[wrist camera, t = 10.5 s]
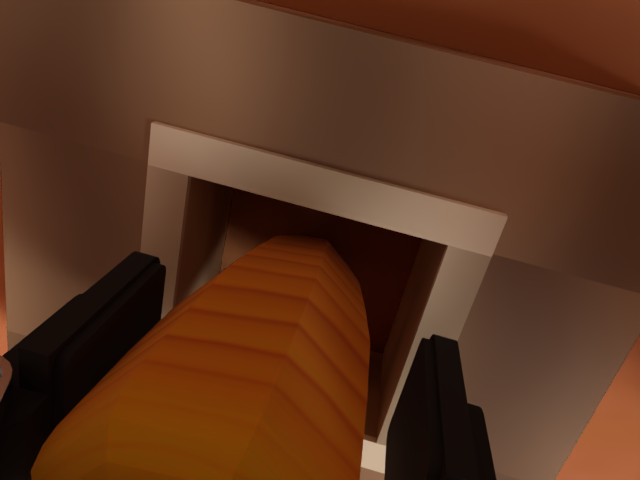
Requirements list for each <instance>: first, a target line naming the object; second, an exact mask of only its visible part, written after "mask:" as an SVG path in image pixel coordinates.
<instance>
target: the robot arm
mask: <svg viewBox="0 0 640 480" xmlns="http://www.w3.org/2000/svg"><path fill="white" fill-rule="evenodd" d="M165 277H166V266H165V265H162V264H160V259H159V258H158V257H156V256H152V255H149V254H145V253H141V252H138V251H134V252H132V253H131V254H130V255H129V256H127V257H126V258H125V259H124V260H123V261H121V262H120V263H119V264H118V265H117V266H115V267H114V268H113V269H112V270H111V271H109V272H108V273H107V274H106V275H105V276H103V277H102V278H101V279H100V280H99V281H97V282H96V283H95V284H94V285H93V286H91V287H90V288H89V289H88V290H87V291H85V292H84V293H83V294H78V295H77V296H75V297H74V298H72V299H71V300H70V301H69V302H67V303H66V304H65V305H64V306H63V307H61V308H60V309H59V310H58V311H56V312H55V313H54V314H53V315H52V316H50V317H49V318H48V319H47V320H46V321H44V322H43V323H42V324H41V325H39V326H38V327H37V328H36V329H35V330H33V331H32V332H31V333H30V334H28V335H27V336H26V337H25V338H24V339H22V340H21V341H20V342H19V343H17V344H16V345H15V346H14V347H13V348H11V349H10V350H9V351H8V352H7V353H5V354H4V355H3V356H0V480H32V478H31V469H32V467H33V465H34V463H35V460H36V458H37V456H38V454H39V452H40V449H41V447H42V445H43V444H44V443H45V441H46V440H47V439H48V437H49V436H50V435H51V433H52V432H53V430H54V429H55V428H56V426H57V425H58V424H59V423H60V422H61V421H62V420H63V419H64V418H65V417H66V416H67V415H68V414H69V413H70V411H71V410H72V409H73V408H74V407H75V406H76V405H77V404H78V403H79V402H80V401H81V400H82V399H83V398H84V397H85V396H86V395H87V394H88V393H89V392H90V391H91V390H92V389H93V387H94V386H95V385H96V384H97V383H98V382H99V381H100V380H101V379H102V378H103V377H104V376H105V375H106V374H107V373H108V372H109V371H110V370H111V369H112V368H113V367H114V366H115V365H116V363H117V362H118V361H119V360H120V359H121V358H122V357H123V356H124V355H125V354H126V353H127V352H128V351H129V350H130V349H131V348H132V347H133V346H134V345H135V344H136V343H138V342H139V341H140V340H141V339H142V338H143V337H144V336H145V335H146V334H147V333H148V332H149V331H150V330H151V329H152V328H153V327H154V326H155V325H156V324H157V323H158V322H159V321H160V320H161V314H162V304H163V295H164V286H165ZM384 480H497V479H496V474H495V469H494V464H493V459H492V453H491V448H490V443H489V438H488V433H487V428H486V422H485V417H484V413H483V410H482V408H481V407H480V406H476V405H473V404H469V403H467V397H466V390H465V384H464V378H463V371H462V365H461V358H460V352H459V346H458V341H456V340H453V339H450V338H446V337H443V336H439V335H435V334H433V335H432V336H431V337H430V339H426V338H422V339H421V341H420V343H419V346H418V349H417V352H416V354H415V357H414V360H413V362H412V365H411V368H410V370H409V373H408V376H407V379H406V381H405V384H404V387H403V389H402V392H401V395H400V397H399V400H398V403H397V405H396V408H395V411H394V414H393V416H392V419H391V422H390V425H389V428H388V432H387V439H386V457H385V476H384Z"/></svg>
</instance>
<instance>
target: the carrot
mask: <svg viewBox="0 0 640 480" xmlns="http://www.w3.org/2000/svg"><path fill="white" fill-rule="evenodd" d="M369 357H370V337H369V330H368V323H367V316H366V309H365V305H364V301H363V296H362V292H361V288H360V284H359V281H358V280H357V278H356V277H355V275H354V274H353V272H352V271H351V269H350V268H349V266H348V265H347V263H346V262H345V261H344V260H343V259H342V257H341V256H340V255H339V254H338V252H337V251H336V250H335V249H334V248H333V246H332V245H331V244H330V243H329V242H328V240H327V239H322V238H315V237H309V236H303V235H296V234H288V235H278V236H275V237H273V238H271V239H269V240H267V241H266V242H264V243H262V244H260V245H259V246H257V247H255V248H254V249H252V250H251V251H249V252H248V253H247V254H245V255H244V256H242V257H241V258H240V259H238V260H237V261H235V262H234V263H232V264H231V265H230V266H228V267H227V268H226V269H224V270H223V271H222V272H220V273H219V274H218V275H216V276H215V277H214V278H212V279H211V280H210V281H208V282H207V283H206V284H204V285H203V286H202V287H200V288H199V289H198V290H196V291H195V292H194V293H192V294H191V295H190V296H188V297H187V298H186V299H184V300H183V301H182V302H180V303H179V304H178V305H176V306H175V307H174V308H173V309H172V310H171V311H170V312H168V313H167V314H166V315H165V316H164V317H163V318H162V319H161V320H160V321H159V322H158V323H157V324H156V325H155V326H154V327H153V328H152V329H151V330H150V331H149V332H148V333H147V334H146V335H145V336H144V337H143V338H142V339H141V340H140V341H139V342H138V343H136V344H135V345H134V346H133V347H132V348H131V349H130V350H129V351H128V352H127V353H126V354H125V355H124V356H123V357H122V358H121V359H120V360H119V361H118V362H117V363H116V365H115V366H114V367H113V368H112V369H111V370H110V371H109V372H108V373H107V374H106V375H105V376H104V377H103V378H102V379H101V380H100V381H99V382H98V383H97V384H96V385H95V386H94V387H93V389H92V390H91V391H90V392H89V393H88V394H87V395H86V396H85V397H84V398H83V399H82V400H81V401H80V402H79V403H78V404H77V405H76V406H75V407H74V408H73V409H72V410H71V411H70V413H69V414H68V415H67V416H66V417H65V418H64V419H63V420H62V421H61V422H60V423H59V424H58V425H57V426H56V428H55V429H54V430H53V432H52V433H51V435H50V436H49V437H48V439H47V440H46V441H45V443H44V444H43V445H42V447H41V449H40V452H39V454H38V456H37V458H36V460H35V463H34V465H33V467H32V469H31V478H32V480H360V471H361V460H362V450H363V440H364V429H365V419H366V408H367V395H368V376H369Z"/></svg>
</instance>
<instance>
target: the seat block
mask: <svg viewBox="0 0 640 480" xmlns="http://www.w3.org/2000/svg"><path fill="white" fill-rule="evenodd" d="M0 165H1V190H2V215H3V240H4V265H5V290H6V315H7V340H8V351H9V350H10V349H11V348H13V347H14V346H15V345H16V344H17V343H19V342H20V341H21V340H22V339H24V338H25V337H26V336H27V335H28V334H30V333H31V332H32V331H33V330H35V329H36V328H37V327H38V326H39V325H41V324H42V323H43V322H44V321H46V320H47V319H48V318H49V317H50V316H52V315H53V314H54V313H55V312H56V311H58V310H59V309H60V308H61V307H63V306H64V305H65V304H66V303H67V302H69V301H70V300H71V299H72V298H74V297H75V296H77V295H78V294H83V293H84V292H85V291H87V290H88V289H89V288H90V287H91V286H93V285H94V284H95V283H96V282H97V281H99V280H100V279H101V278H102V277H103V276H105V275H106V274H107V273H108V272H109V271H111V270H112V269H113V268H114V267H115V266H117V265H118V264H119V263H120V262H121V261H123V260H124V259H125V258H126V257H127V256H129V255H130V254H131V253H132V252H134V251H138V252H141V253H145V254H149V255H152V256H156V257H158V258H159V259H160V264H162V265H165V266H166V277H165V286H164V295H163V304H162V314H161V319H162V318H163V317H164V316H165V315H166V314H167V313H168V312H170V311H171V310H172V309H173V308H174V307H175V306H176V305H178V304H179V303H180V302H182V301H183V300H184V299H186V298H187V297H188V296H190V295H191V294H192V293H194V292H195V291H196V290H198V289H199V288H200V287H202V286H203V285H204V284H206V283H207V282H208V281H210V280H211V279H212V278H214V277H215V276H216V275H218V274H219V273H220V268H221V262H222V256H223V250H224V243H225V237H226V231H227V225H228V219H229V212H230V206H231V200H232V194H233V188H236V189H240V190H244V191H248V192H251V193H255V194H259V195H263V196H266V197H270V198H274V199H277V200H281V201H285V202H289V203H292V204H296V205H300V206H303V207H307V208H311V209H315V210H318V211H322V212H326V213H330V214H333V215H337V216H341V217H344V218H348V219H352V220H356V221H359V222H363V223H367V224H371V225H374V226H378V227H382V228H385V229H389V230H393V231H397V232H400V233H404V234H408V235H411V236H415V237H419V238H422V240H421V243H420V246H419V249H418V252H417V255H416V258H415V261H414V264H413V267H412V270H411V272H410V275H409V278H408V281H407V284H406V287H405V290H404V293H403V296H402V299H401V302H400V305H399V308H398V311H397V314H396V317H395V320H394V323H393V326H392V329H391V332H390V335H389V338H388V341H387V344H386V346H385V349H384V352H383V354H381V353H378V352H374V351H371V350H370V357H369V376H368V395H367V408H366V419H365V429H364V440H363V450H362V460H361V471H360V480H384V476H385V457H386V439H387V432H388V428H389V425H390V422H391V419H392V416H393V414H394V411H395V408H396V405H397V403H398V400H399V397H400V395H401V392H402V389H403V387H404V384H405V381H406V379H407V376H408V373H409V370H410V368H411V365H412V362H413V360H414V357H415V354H416V352H417V349H418V346H419V343H420V341H421V339H422V338H426V339H430V337H431V336H432V335H433V334H435V335H439V336H443V337H446V338H450V339H453V340H456V341H458V346H459V352H460V358H461V365H462V371H463V378H464V384H465V390H466V397H467V403H469V404H473V405H476V406H480V407H481V408H482V410H483V413H484V417H485V422H486V428H487V433H488V438H489V443H490V448H491V453H492V459H493V464H494V469H495V474H496V479H497V480H555V479H556V477H557V475H558V473H559V472H560V470H561V468H562V467H563V465H564V463H565V461H566V460H567V458H568V456H569V455H570V453H571V451H572V449H573V448H574V446H575V444H576V443H577V441H578V439H579V438H580V436H581V434H582V432H583V431H584V429H585V427H586V426H587V424H588V422H589V420H590V419H591V417H592V415H593V414H594V412H595V410H596V408H597V407H598V405H599V403H600V402H601V400H602V398H603V396H604V395H605V393H606V391H607V390H608V388H609V386H610V385H611V383H612V381H613V379H614V378H615V376H616V374H617V373H618V371H619V369H620V367H621V366H622V364H623V362H624V361H625V359H626V357H627V355H628V354H629V352H630V350H631V349H632V347H633V345H634V343H635V342H636V340H637V338H638V337H639V335H640V95H636V94H632V93H628V92H624V91H620V90H616V89H612V88H608V87H604V86H600V85H596V84H592V83H588V82H584V81H580V80H576V79H572V78H568V77H564V76H560V75H556V74H552V73H548V72H543V71H539V70H535V69H531V68H527V67H523V66H519V65H515V64H511V63H507V62H503V61H499V60H495V59H491V58H487V57H483V56H479V55H475V54H471V53H467V52H463V51H459V50H455V49H451V48H447V47H443V46H438V45H434V44H430V43H426V42H422V41H418V40H414V39H410V38H406V37H402V36H398V35H394V34H390V33H386V32H382V31H378V30H374V29H370V28H366V27H362V26H358V25H354V24H350V23H346V22H342V21H338V20H333V19H329V18H325V17H321V16H317V15H313V14H309V13H305V12H301V11H297V10H293V9H289V8H285V7H281V6H277V5H273V4H269V3H265V2H261V1H257V0H0Z"/></svg>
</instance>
